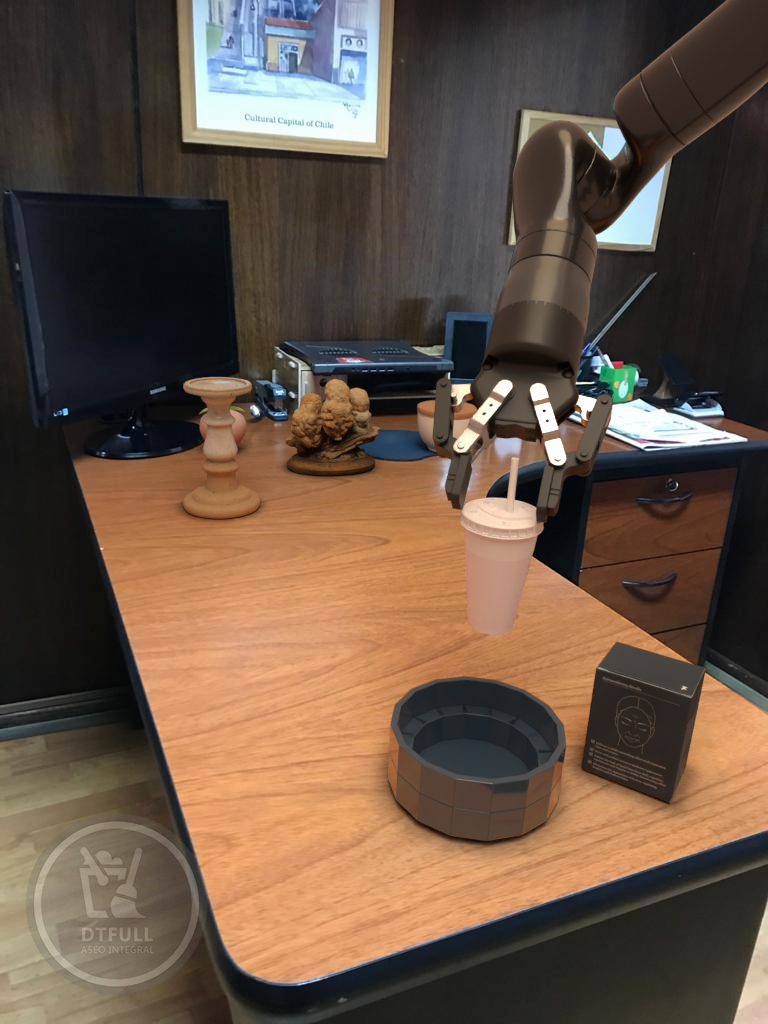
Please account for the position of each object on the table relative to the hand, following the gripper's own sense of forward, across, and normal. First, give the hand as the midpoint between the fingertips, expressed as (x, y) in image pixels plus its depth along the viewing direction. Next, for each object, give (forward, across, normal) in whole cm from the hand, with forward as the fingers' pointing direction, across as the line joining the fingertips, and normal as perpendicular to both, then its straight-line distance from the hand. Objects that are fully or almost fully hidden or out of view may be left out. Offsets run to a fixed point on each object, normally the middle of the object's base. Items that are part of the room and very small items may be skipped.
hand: (498, 510), depth 57 cm
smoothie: (+6, 0, +9) cm, 11 cm away
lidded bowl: (-53, -28, +89) cm, 108 cm away
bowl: (+18, 0, +18) cm, 25 cm away
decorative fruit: (-37, -68, +73) cm, 107 cm away
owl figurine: (-38, -44, +74) cm, 94 cm away
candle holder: (-18, -53, +54) cm, 77 cm away
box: (+13, +13, +23) cm, 29 cm away
